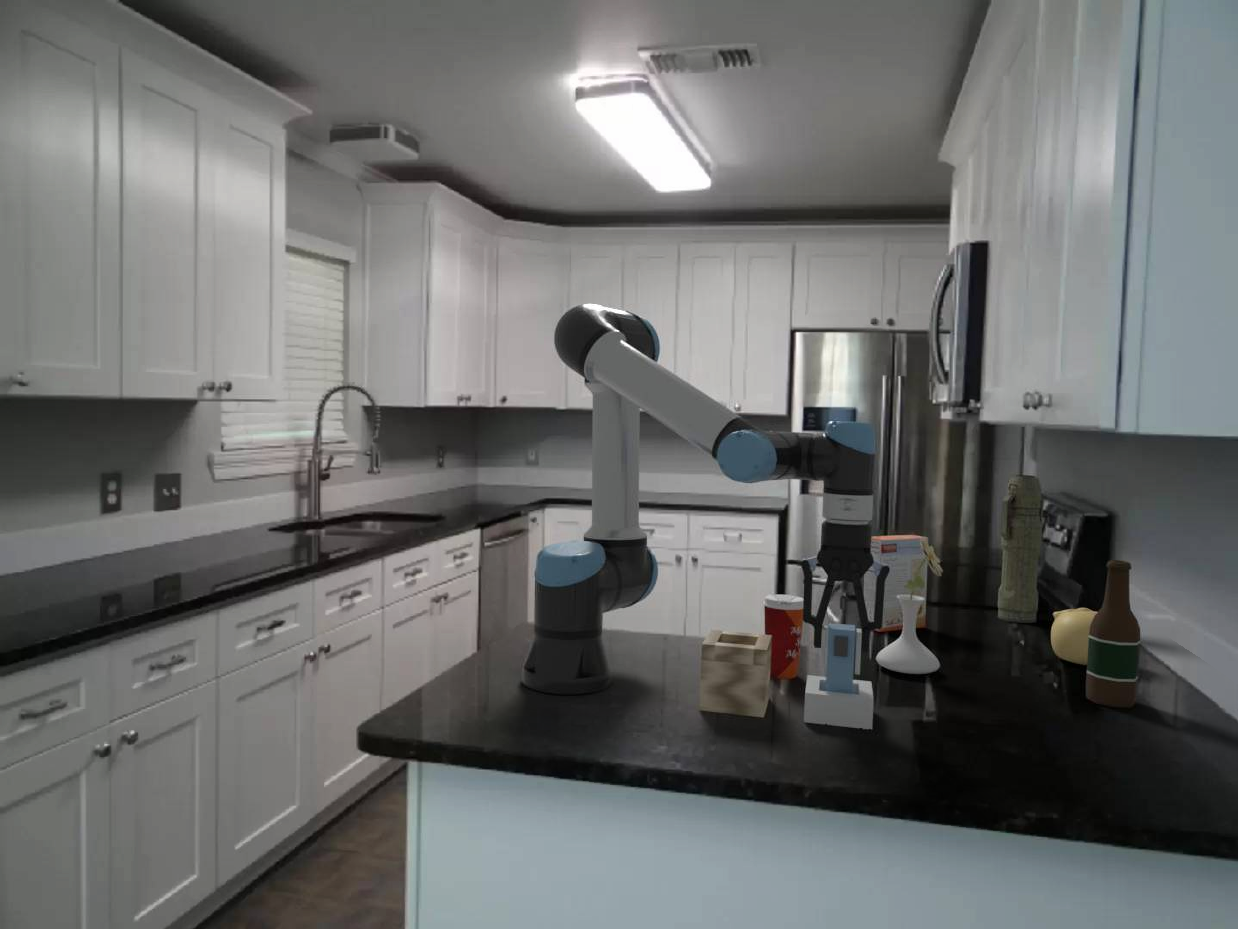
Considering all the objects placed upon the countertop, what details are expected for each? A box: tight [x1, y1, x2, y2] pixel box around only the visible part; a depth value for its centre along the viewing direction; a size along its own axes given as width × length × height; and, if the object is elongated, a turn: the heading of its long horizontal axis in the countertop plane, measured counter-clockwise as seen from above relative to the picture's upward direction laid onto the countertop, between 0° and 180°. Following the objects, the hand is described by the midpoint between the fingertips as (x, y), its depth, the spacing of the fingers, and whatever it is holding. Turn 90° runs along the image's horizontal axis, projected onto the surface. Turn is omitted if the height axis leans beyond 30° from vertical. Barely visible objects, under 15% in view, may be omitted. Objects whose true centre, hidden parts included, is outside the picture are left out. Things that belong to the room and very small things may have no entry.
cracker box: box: [863, 534, 929, 633], centre depth 200 cm, size 14×6×21 cm, turn 116°
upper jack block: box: [699, 629, 772, 719], centre depth 141 cm, size 10×10×10 cm
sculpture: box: [1050, 607, 1098, 666], centre depth 175 cm, size 12×12×11 cm
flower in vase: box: [875, 536, 944, 675], centre depth 165 cm, size 13×11×25 cm
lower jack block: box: [803, 674, 875, 731], centre depth 138 cm, size 10×10×4 cm
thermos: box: [997, 474, 1045, 624], centre depth 214 cm, size 9×12×35 cm
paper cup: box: [762, 593, 804, 680], centre depth 159 cm, size 8×8×14 cm
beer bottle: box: [1085, 559, 1141, 709], centre depth 149 cm, size 8×8×24 cm
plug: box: [825, 622, 856, 694], centre depth 137 cm, size 4×5×12 cm
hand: (839, 670), depth 137 cm, fingers open, 4 cm apart
